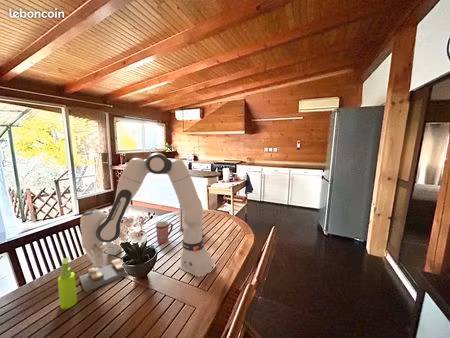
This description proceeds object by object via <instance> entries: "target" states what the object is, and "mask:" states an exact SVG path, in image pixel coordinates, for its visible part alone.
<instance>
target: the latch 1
mask: <svg viewBox="0 0 450 338" xmlns="http://www.w3.org/2000/svg"><path fill="white" fill-rule="evenodd" d="M99 269H100V268H99V266H98V267H97V268H94V267H93V266H92V267H91V268H88V269H87V270H88V272H89V273H90V275H91V277H92V279H93V282H94V281H97V280H99V279H102V278H104V275H102V273H101V272H100V270H99Z"/></svg>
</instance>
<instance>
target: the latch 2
mask: <svg viewBox="0 0 450 338" xmlns="http://www.w3.org/2000/svg"><path fill="white" fill-rule="evenodd" d="M121 260H122V259H121V258H120V257H119V258H118V257H117V258H114V259H112V260H111V262H110V264H113V265H114V267H115V268H116V269H117V272H118V271H121V270H123V269H124V268H123V266H122V264H123V262H122V261H121Z"/></svg>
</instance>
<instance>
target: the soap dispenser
mask: <svg viewBox="0 0 450 338" xmlns="http://www.w3.org/2000/svg"><path fill="white" fill-rule="evenodd" d="M69 260H70V259H69V257H64V258H63V259H62V261H61V266H62V268H61V269H60V275H59V276H58V278H57V289H58V299H59V300H58V301H59V307H60V309H61V310H67V309H70V308H72V307H74V305H76V304H77V302H78V298H77V285H76V283H77V282H76V273H75V272H74V271H72V270H71V269H72V268H71V267H70V266H68V263H69Z"/></svg>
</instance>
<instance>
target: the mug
mask: <svg viewBox="0 0 450 338" xmlns="http://www.w3.org/2000/svg"><path fill="white" fill-rule="evenodd" d="M173 226H174V224H173V223H171V222H169V221H167V220H160V221H158V222H156V223H155V231H156V240H157V243H158V244H166V243H168V241H169V236H170V234H171V233H172V231H173ZM169 228H170V229H169Z"/></svg>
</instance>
